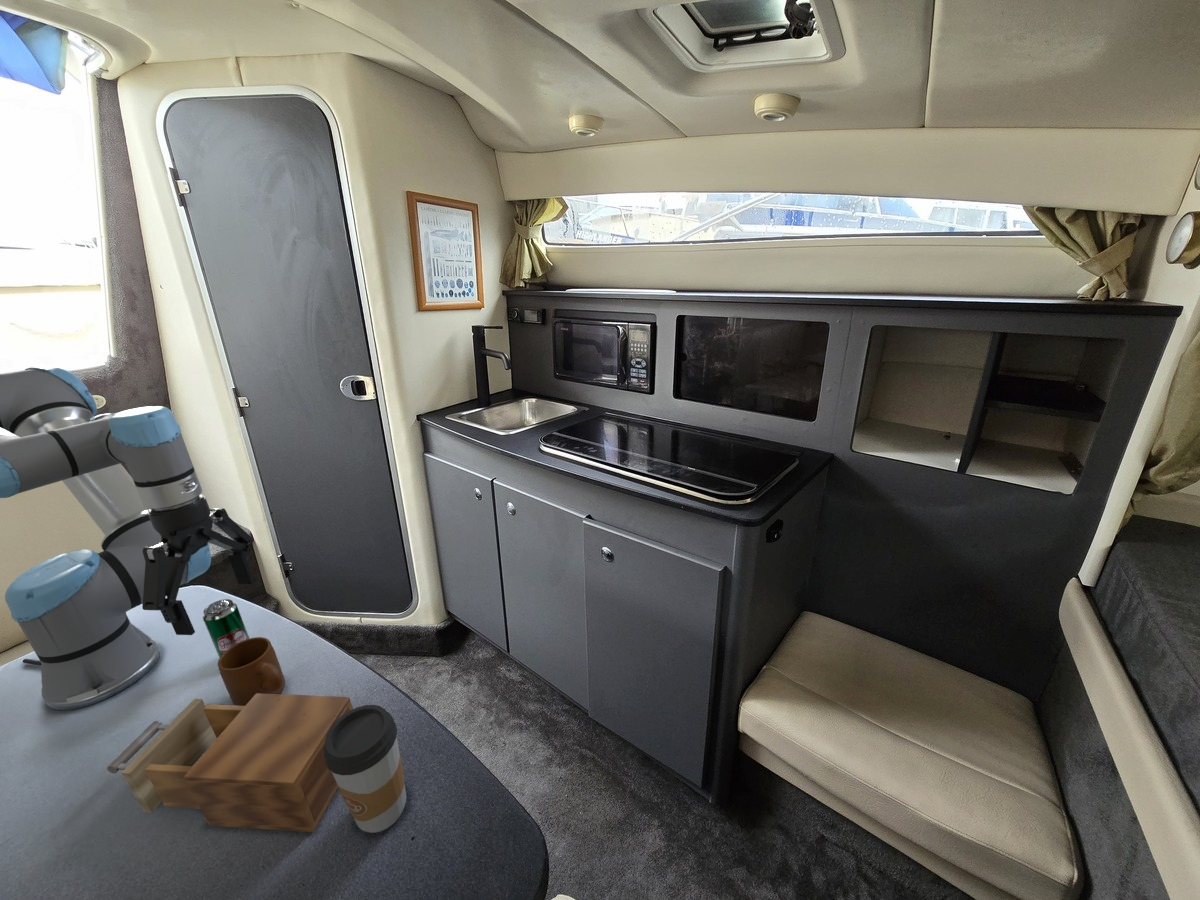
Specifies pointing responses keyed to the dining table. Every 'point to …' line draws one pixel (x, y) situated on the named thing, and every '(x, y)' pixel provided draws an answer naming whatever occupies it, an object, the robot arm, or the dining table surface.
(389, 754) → the coffee cup
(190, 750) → the drawer
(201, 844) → the dining table surface
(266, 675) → the mug
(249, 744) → the cabinet
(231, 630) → the soda can
